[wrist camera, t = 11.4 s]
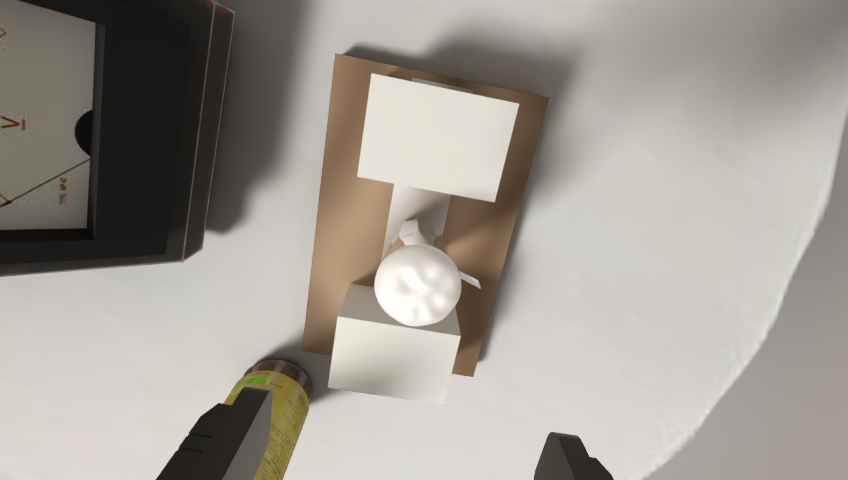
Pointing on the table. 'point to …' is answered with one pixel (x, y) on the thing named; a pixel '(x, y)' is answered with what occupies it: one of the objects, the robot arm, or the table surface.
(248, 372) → the sauce bottle
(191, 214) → the voltmeter
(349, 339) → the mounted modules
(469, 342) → the rail board
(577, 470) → the robot arm
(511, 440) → the table surface
